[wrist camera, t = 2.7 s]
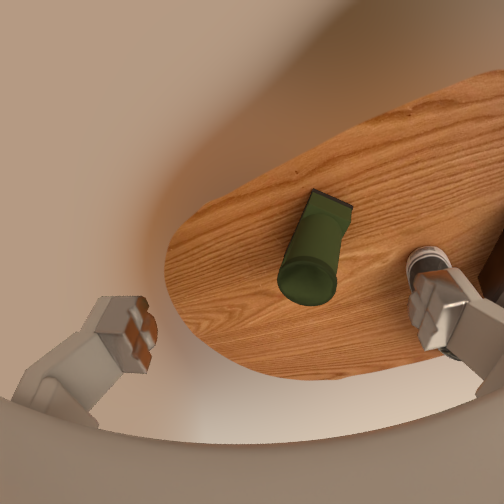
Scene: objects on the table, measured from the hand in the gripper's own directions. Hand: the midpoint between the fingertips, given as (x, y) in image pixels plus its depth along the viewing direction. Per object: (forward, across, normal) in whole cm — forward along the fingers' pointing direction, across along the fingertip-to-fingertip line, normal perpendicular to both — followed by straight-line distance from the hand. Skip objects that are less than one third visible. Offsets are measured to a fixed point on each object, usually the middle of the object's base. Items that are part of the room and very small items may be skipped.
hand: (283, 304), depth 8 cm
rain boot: (+28, -6, +13) cm, 31 cm away
